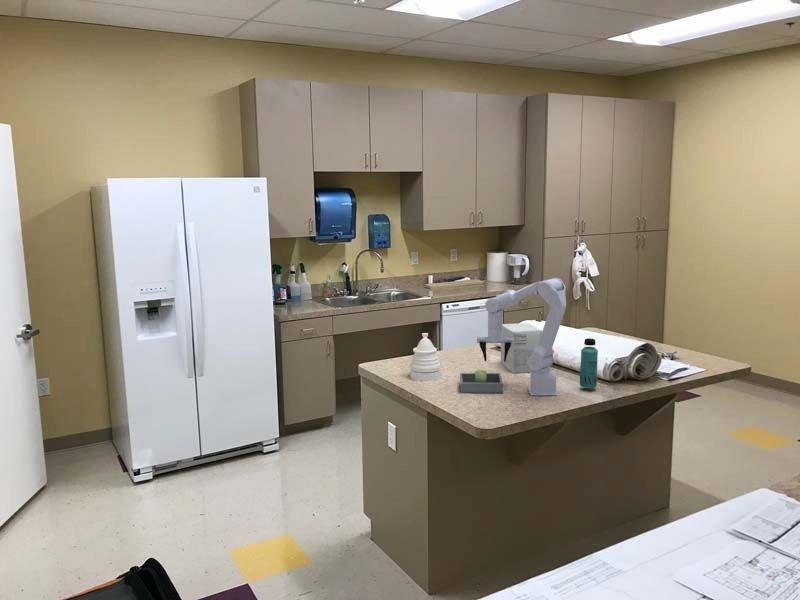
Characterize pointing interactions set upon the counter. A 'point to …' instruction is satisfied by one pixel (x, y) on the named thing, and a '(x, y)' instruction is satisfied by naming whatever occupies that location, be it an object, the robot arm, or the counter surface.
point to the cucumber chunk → (480, 376)
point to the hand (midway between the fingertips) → (495, 360)
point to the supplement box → (519, 346)
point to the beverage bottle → (588, 365)
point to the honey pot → (425, 361)
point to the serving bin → (481, 384)
